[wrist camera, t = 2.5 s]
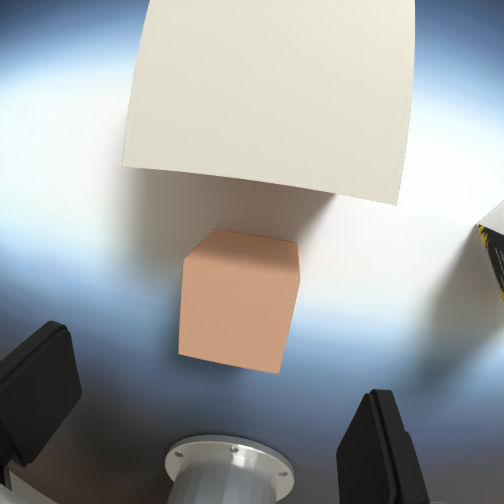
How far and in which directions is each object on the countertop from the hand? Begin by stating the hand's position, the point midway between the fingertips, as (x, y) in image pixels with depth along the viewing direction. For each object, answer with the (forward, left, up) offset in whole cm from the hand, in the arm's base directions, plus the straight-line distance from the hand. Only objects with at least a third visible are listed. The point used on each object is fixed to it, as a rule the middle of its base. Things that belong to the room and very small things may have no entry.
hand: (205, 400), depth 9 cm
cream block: (+11, 0, -7) cm, 13 cm away
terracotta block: (0, 0, -12) cm, 12 cm away
